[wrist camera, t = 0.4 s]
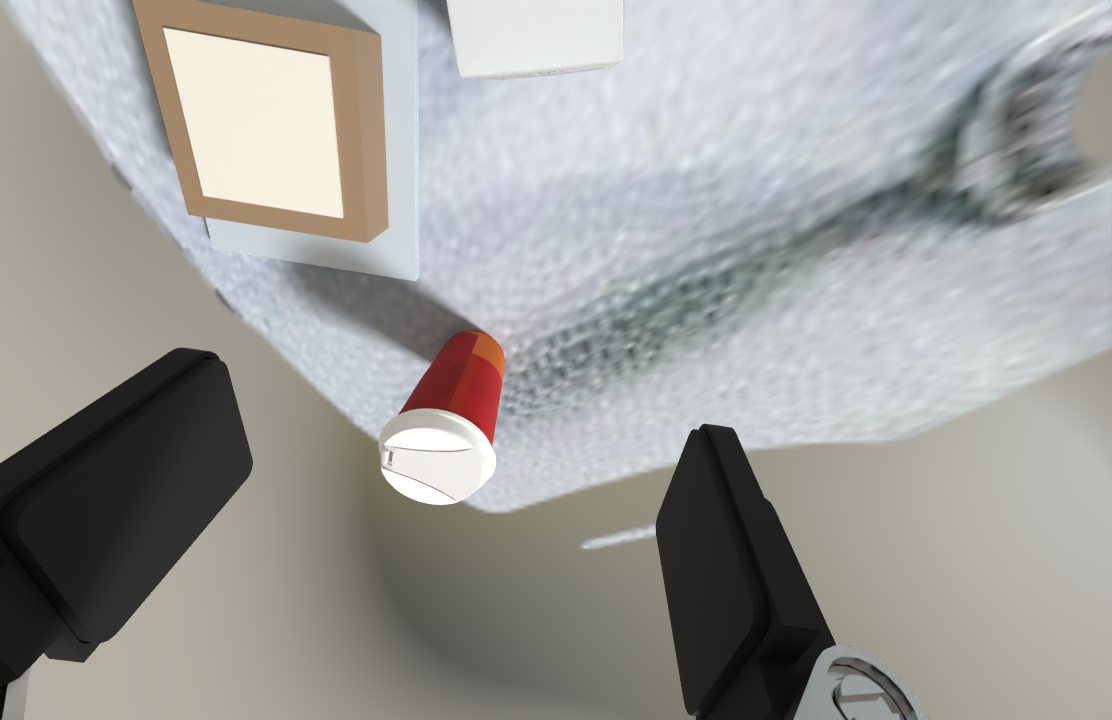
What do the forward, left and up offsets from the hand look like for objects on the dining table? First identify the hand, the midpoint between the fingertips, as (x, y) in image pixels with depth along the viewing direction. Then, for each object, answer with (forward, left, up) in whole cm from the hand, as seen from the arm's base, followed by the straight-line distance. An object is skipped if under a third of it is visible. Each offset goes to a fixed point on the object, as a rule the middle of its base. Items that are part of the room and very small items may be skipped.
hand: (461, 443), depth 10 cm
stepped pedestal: (-1, -17, -28) cm, 33 cm away
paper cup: (+16, -4, -28) cm, 33 cm away
